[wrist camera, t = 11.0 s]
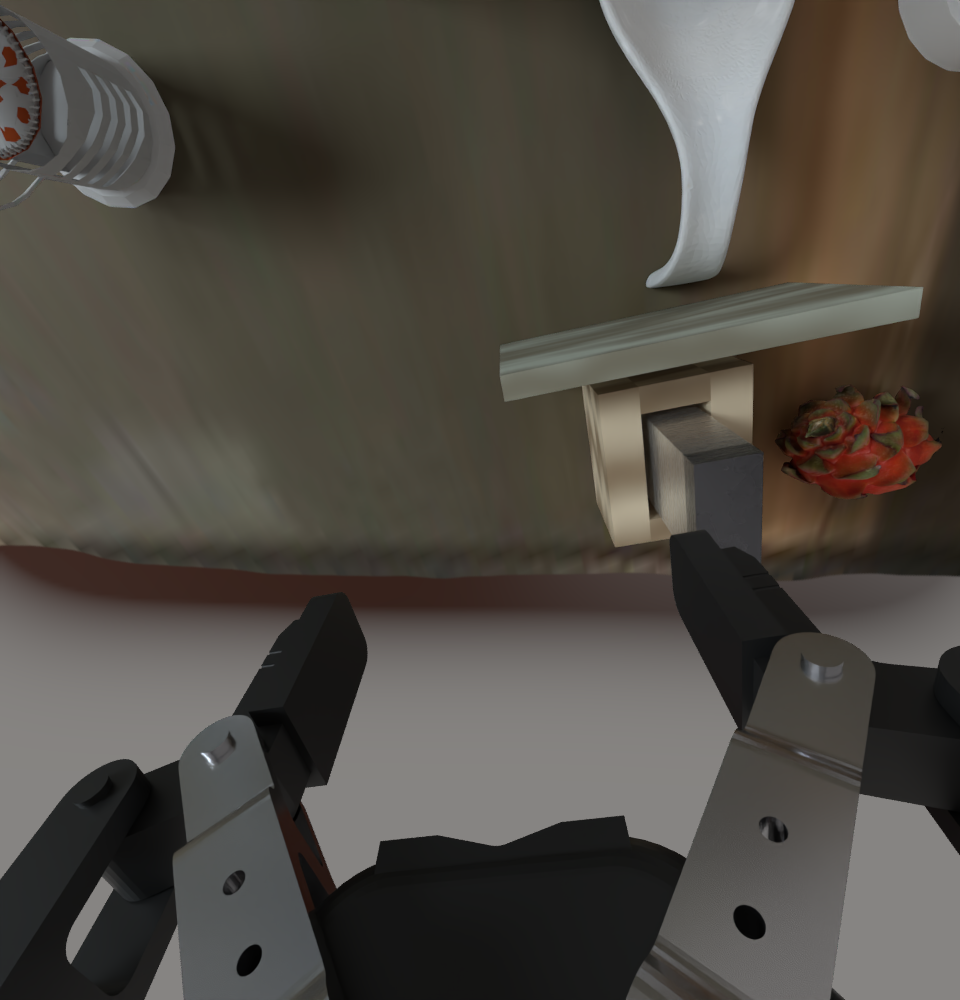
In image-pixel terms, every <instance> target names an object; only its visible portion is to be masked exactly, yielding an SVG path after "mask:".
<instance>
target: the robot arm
mask: <svg viewBox="0 0 960 1000" xmlns="http://www.w3.org/2000/svg"><path fill="white" fill-rule="evenodd" d="M670 555H671V569H672V582H673V592H674V598H675V602H676V606H677V609H678V612H679V614H680V616H681V618H682V620H683V622H684V624H685V626H686V628H687V630H688V632H689V634H690V636H691V638H692V640H693V642H694V644H695V645H696V647H697V649H698V651H699V653H700V655H701V657H702V659H703V661H704V663H705V665H706V667H707V669H708V670H709V673H710V674H711V676H712V678H713V680H714V682H715V684H716V686H717V688H718V690H719V692H720V694H721V696H722V697H723V700H724V701H725V703H726V705H727V707H728V709H729V711H730V713H731V715H732V717H733V719H734V721H735V723H736V725H737V727H738V728H737V729H736V730H735V732H734V734H733V736H732V738H731V740H730V743H729V746H728V748H727V751H726V754H725V756H724V759H723V762H722V765H721V767H720V770H719V773H718V775H717V778H716V781H715V784H714V786H713V789H712V792H711V794H710V797H709V799H708V802H707V805H706V808H705V810H704V813H703V816H702V818H701V821H700V824H699V826H698V829H697V832H696V835H695V837H694V840H693V843H692V846H691V848H690V851H689V853H688V856H687V858H685V857H683V856H682V855H680V854H678V853H677V852H675V851H672V850H670V849H668V848H666V847H663V846H661V845H658V844H655V843H652V842H649V841H646V840H642V839H637V838H632V837H629V835H628V830H627V826H626V822H625V817H624V816H615V817H605V818H596V819H586V820H577V821H568V822H560V823H558V824H555V825H553V826H551V827H548V828H545V829H543V830H540V831H538V832H535V833H533V834H530V835H528V836H525V837H523V838H520V839H517V840H515V841H513V842H510V843H507V844H505V845H501V846H490V845H485V844H480V843H475V842H470V841H464V840H459V839H454V838H449V837H443V836H438V835H436V836H426V837H417V838H407V839H399V840H389V841H381V842H380V846H379V851H378V856H377V861H376V865H373V866H371V867H369V868H367V869H365V870H363V871H362V872H360V873H358V874H356V875H355V876H353V877H352V878H351V879H349V880H348V881H346V882H345V883H343V884H342V885H341V886H340V887H338V888H336V886H335V884H334V881H333V879H332V877H331V874H330V872H329V869H328V867H327V864H326V861H325V858H324V856H323V853H322V851H321V848H320V846H319V843H318V840H317V838H316V835H315V832H314V830H313V827H312V825H311V822H310V819H309V817H308V814H307V812H306V809H305V807H304V805H303V804H302V802H301V798H302V796H303V793H304V790H305V788H307V787H315V786H323V785H327V783H328V780H329V777H330V774H331V771H332V767H333V764H334V761H335V758H336V755H337V752H338V749H339V746H340V743H341V740H342V736H343V734H344V730H345V728H346V725H347V721H348V718H349V715H350V712H351V709H352V706H353V703H354V699H355V697H356V694H357V691H358V688H359V685H360V682H361V679H362V675H363V672H364V669H365V666H366V662H367V644H366V640H365V637H364V635H363V632H362V630H361V628H360V625H359V623H358V621H357V618H356V616H355V614H354V611H353V609H352V606H351V604H350V602H349V599H348V597H347V596H346V595H345V594H344V593H342V592H339V593H334V594H328V595H322V596H316V597H313V598H311V600H310V601H309V603H308V604H307V607H306V608H305V610H304V612H303V613H302V615H301V617H300V619H299V620H295V621H293V622H292V624H291V625H289V626H288V627H287V628H286V629H285V630H284V631H283V632H282V633H281V634H280V635H279V636H278V638H277V640H276V642H275V643H274V645H273V647H272V648H271V650H270V655H267V657H266V659H265V660H264V662H263V664H262V665H261V666H262V669H259V671H258V672H257V674H256V676H255V677H254V679H253V681H252V683H251V684H250V686H249V688H248V689H247V691H246V693H245V694H244V696H243V698H242V700H241V701H240V703H239V705H238V707H237V708H236V710H235V712H234V713H233V715H232V716H229V717H226V718H223V719H221V720H218V721H217V722H215V723H213V724H211V725H210V726H208V727H207V728H205V729H204V730H203V731H202V732H200V733H199V734H198V735H197V736H196V737H195V738H194V739H193V740H192V741H191V742H190V743H189V745H188V746H187V747H186V749H185V750H184V752H183V754H182V756H181V758H180V760H178V761H175V762H173V763H170V764H168V765H165V766H163V767H161V768H158V769H156V770H153V771H151V772H148V773H146V774H143V773H142V771H141V770H140V769H139V767H138V766H137V765H136V764H135V763H134V762H133V761H131V760H129V759H122V760H116V761H113V762H110V763H108V764H106V765H103V766H101V767H100V768H98V769H96V770H94V771H93V772H91V773H90V774H88V775H87V776H85V777H84V778H83V779H82V780H80V781H79V782H78V783H77V784H76V785H75V786H73V787H72V788H71V789H70V790H69V792H68V793H67V794H66V795H65V796H64V797H63V798H62V800H61V801H60V802H59V803H58V805H57V806H56V807H55V809H54V810H53V811H52V813H51V814H50V815H49V817H48V818H47V819H46V821H45V822H44V823H43V825H42V826H41V827H40V828H39V830H38V831H37V832H36V834H35V835H34V836H33V838H32V839H31V840H30V841H29V843H28V844H27V845H26V847H25V848H24V849H23V851H22V852H21V853H20V855H19V856H18V857H17V858H16V860H15V861H14V863H13V864H12V865H11V866H10V868H9V869H8V870H7V872H6V873H5V874H4V876H3V877H2V878H1V880H0V1000H144V999H145V997H146V994H147V992H148V990H149V987H150V985H151V983H152V981H153V979H154V976H155V974H156V972H157V969H158V967H159V965H160V962H161V960H162V958H163V956H164V953H165V951H166V949H167V947H168V944H169V942H170V940H171V938H172V935H173V933H174V931H175V929H176V926H177V924H178V935H179V948H180V960H181V971H182V984H183V997H184V1000H845V999H844V998H843V997H842V996H840V995H839V994H838V993H837V992H836V991H835V990H834V989H833V988H832V982H833V975H834V968H835V961H836V954H837V947H838V940H839V932H840V926H841V918H842V912H843V905H844V897H845V890H846V883H847V877H848V870H849V862H850V856H851V848H852V841H853V834H854V827H855V820H856V813H857V806H858V799H859V794H864V795H870V796H874V797H880V798H885V799H891V800H897V801H902V802H907V803H912V804H918V805H924V806H925V807H926V809H927V810H928V811H929V813H930V814H931V815H932V817H933V818H934V820H935V821H936V823H937V824H938V825H939V827H940V828H941V829H942V831H943V832H944V834H945V835H946V837H947V838H948V839H949V841H950V842H951V844H952V845H953V846H954V848H955V849H956V851H957V852H958V853H959V855H960V646H957V647H954V648H951V649H949V650H947V651H946V652H945V653H944V654H943V655H942V656H941V658H940V660H939V665H938V668H927V667H915V666H904V665H894V664H886V663H879V662H874V661H871V660H870V658H869V657H868V656H867V655H866V654H865V653H864V652H863V651H861V650H860V649H859V648H857V647H856V646H854V645H853V644H851V643H849V642H847V641H845V640H843V639H840V638H838V637H834V636H831V635H827V634H822V633H821V632H820V631H819V630H818V629H817V628H816V626H815V625H814V624H813V623H812V622H811V621H810V620H809V618H808V617H807V616H806V615H805V614H804V613H803V612H802V610H801V609H800V608H799V607H798V606H797V605H796V604H795V602H794V601H793V600H792V599H791V598H790V597H789V596H788V594H787V593H786V592H785V591H784V590H783V589H782V588H780V587H779V585H778V583H777V582H776V581H775V579H774V578H773V577H772V576H771V575H769V574H768V571H767V570H766V569H765V568H764V567H763V566H762V565H761V563H760V562H759V561H758V560H757V559H756V558H755V557H754V556H752V555H750V554H748V553H746V552H744V551H742V550H740V549H738V548H737V547H735V546H734V547H728V548H722V549H721V548H720V547H719V546H718V544H717V543H716V542H715V541H714V539H713V538H712V537H711V535H710V534H709V533H708V532H707V531H706V530H704V529H703V530H697V531H692V532H686V533H680V534H675V535H671V536H670ZM101 877H103V878H104V879H105V880H106V881H107V882H108V883H109V884H110V885H111V886H112V887H113V888H114V889H113V891H112V893H111V895H110V896H109V898H108V900H107V902H106V903H105V905H104V907H103V909H102V911H101V912H100V914H99V916H98V918H97V919H96V921H95V923H94V925H93V926H92V929H91V930H90V932H89V934H88V935H87V937H86V939H85V941H84V942H83V944H82V946H81V948H80V950H79V951H78V953H77V955H76V956H75V958H74V960H73V962H72V963H71V964H70V963H69V962H68V960H67V957H66V942H67V938H68V935H69V932H70V930H71V927H72V925H73V924H74V922H75V920H76V918H77V917H78V915H79V913H80V912H81V910H82V908H83V907H84V905H85V903H86V902H87V900H88V898H89V897H90V895H91V893H92V892H93V890H94V888H95V887H96V885H97V883H98V882H99V880H100V878H101Z"/></svg>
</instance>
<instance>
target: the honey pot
mask: <svg viewBox="0 0 960 1000" xmlns="http://www.w3.org/2000/svg"><path fill="white" fill-rule="evenodd" d="M898 4H899V13H900V15H901V18H902V21H903V24H904V27H905V29H906V32H907V35H908V38H909V40H910V41H911V42H912V43H913V44H914V46H915V47H916V48H917V49H918V51H919V52H920V53H921V54H922V55H923V57H924V58H925V59H927V60H929V61H930V62H932V63H934V64H936V65H938V66H939V67H941V68H943V69H945V70H947V71H955V72H960V0H898Z"/></svg>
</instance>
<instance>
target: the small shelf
mask: <svg viewBox="0 0 960 1000" xmlns="http://www.w3.org/2000/svg"><path fill="white" fill-rule="evenodd" d="M922 292H923V287H905V286H875V285H846V284H817V283H783V284H779V285H774V286H770V287H765V288H761V289H756V290H751V291H747V292H742V293H738V294H733V295H728V296H724V297H719V298H715V299H710V300H705V301H701V302H696V303H692V304H687V305H682V306H678V307H673V308H669V309H664V310H659V311H655V312H650V313H646V314H641V315H637V316H632V317H627V318H623V319H618V320H614V321H609V322H604V323H600V324H595V325H591V326H586V327H581V328H577V329H572V330H568V331H563V332H558V333H554V334H549V335H545V336H540V337H535V338H531V339H526V340H522V341H517V342H512V343H508V344H503V345H500V380H501V385H502V390H503V395H504V400H505V402H506V401H511V400H516V399H521V398H526V397H531V396H536V395H541V394H546V393H550V392H555V391H560V390H565V389H570V388H575V387H580V386H582V390H583V398H584V405H585V413H586V421H587V429H588V437H589V444H590V452H591V460H592V468H593V476H594V483H595V491H596V499H597V504H598V507H599V509H600V511H601V514H602V516H603V519H604V521H605V523H606V526H607V528H608V531H609V533H610V535H611V538H612V540H613V543H614V545H615V547H620V546H626V545H632V544H639V543H645V542H651V541H657V540H663V539H670V536H671V535H672V534H671V533H670V531H669V529H668V528H667V526H666V525H665V523H664V522H663V520H662V519H661V517H660V516H659V514H658V513H657V511H656V509H655V508H654V506H653V505H652V503H651V502H650V500H649V499H648V496H647V484H646V472H645V459H644V447H643V434H642V422H641V414H645V413H651V412H656V411H661V410H666V409H671V408H677V407H682V406H687V405H692V404H693V405H695V406H696V407H698V408H699V409H701V410H702V411H704V412H705V413H707V414H708V415H710V416H711V417H712V418H714V419H715V420H717V421H718V422H720V423H721V424H723V425H724V426H726V427H727V428H728V429H730V430H731V431H733V432H734V433H736V434H737V435H739V436H740V437H742V438H743V439H745V440H746V441H747V442H749V443H750V444H752V429H753V364H752V363H749V362H747V361H744V360H741V359H738V358H736V357H733V355H738V354H743V353H748V352H752V351H757V350H762V349H767V348H772V347H777V346H782V345H787V344H792V343H797V342H802V341H807V340H812V339H816V338H821V337H826V336H831V335H836V334H841V333H846V332H851V331H856V330H861V329H866V328H871V327H876V326H881V325H885V324H890V323H895V322H900V321H905V320H910V319H915V318H919V313H920V306H921V299H922Z"/></svg>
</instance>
